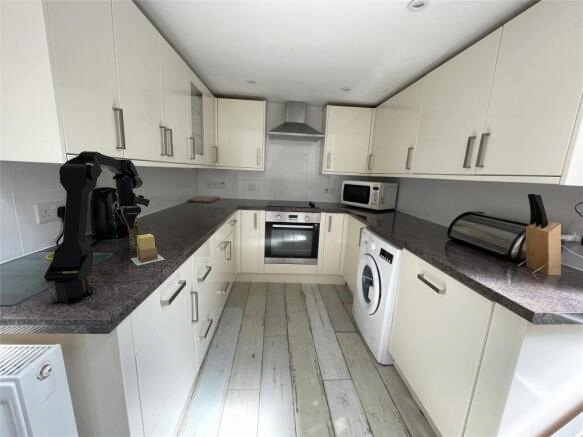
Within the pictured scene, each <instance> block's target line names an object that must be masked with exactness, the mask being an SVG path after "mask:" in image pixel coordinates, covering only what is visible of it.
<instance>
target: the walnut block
mask: <svg viewBox="0 0 583 437" xmlns="http://www.w3.org/2000/svg"><path fill="white" fill-rule="evenodd" d="M136 257H137V259H138V260H139V261H140V262H141V263H143V262H147V261H152V260H156V259H158V248H157V246H155V248H151V249H146V250H140V249H139V248H138V246H136Z"/></svg>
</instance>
